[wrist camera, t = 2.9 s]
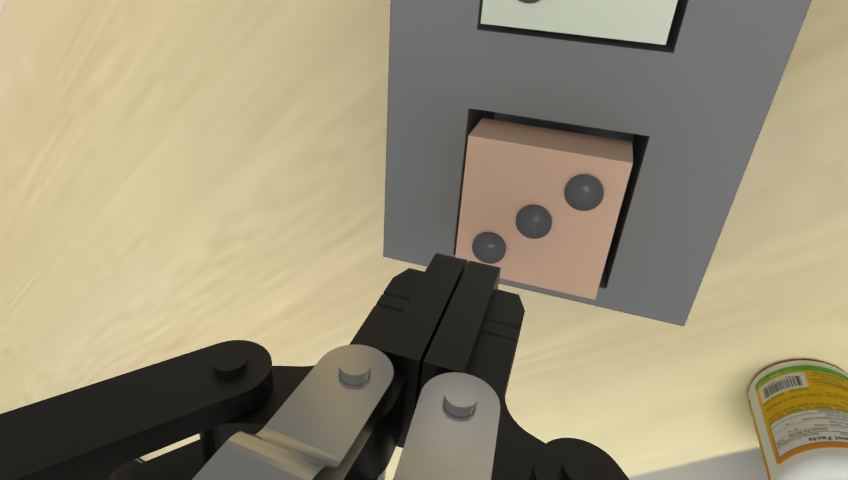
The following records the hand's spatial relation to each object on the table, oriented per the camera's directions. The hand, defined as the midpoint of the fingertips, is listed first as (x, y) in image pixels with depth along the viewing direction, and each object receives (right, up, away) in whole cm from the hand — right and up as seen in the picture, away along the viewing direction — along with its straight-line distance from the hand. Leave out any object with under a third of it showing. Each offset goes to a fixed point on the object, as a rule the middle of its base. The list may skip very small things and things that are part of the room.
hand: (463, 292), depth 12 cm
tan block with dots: (+4, +4, +12) cm, 13 cm away
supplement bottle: (+21, -7, +19) cm, 29 cm away
